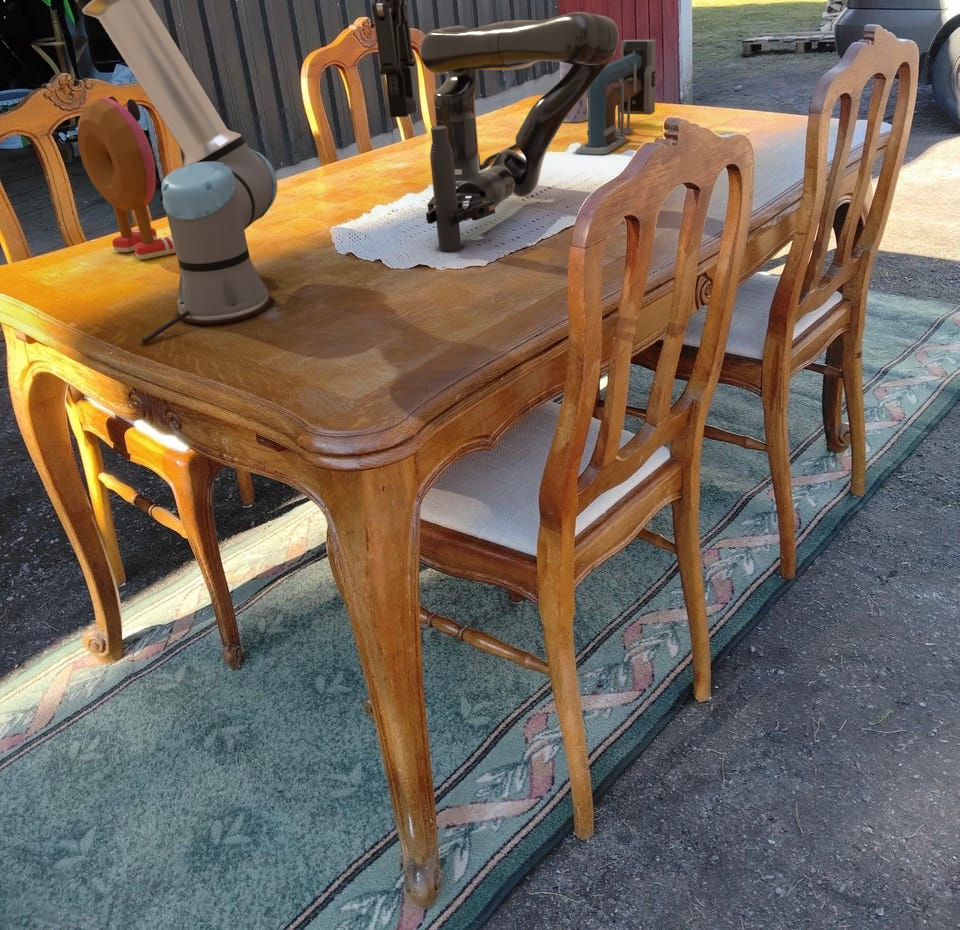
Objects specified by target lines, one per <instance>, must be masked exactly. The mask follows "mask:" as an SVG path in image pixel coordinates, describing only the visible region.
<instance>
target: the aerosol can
mask: <svg viewBox="0 0 960 930" xmlns="http://www.w3.org/2000/svg"><path fill="white" fill-rule="evenodd" d="M571 65H572V64H568V63H564V62H559V81H560V80H561V78H562V77H563V76H564V75H565V74H566V73H567V71H568V70H569V69H570V67H571ZM584 121H588V90H587V91H586V92H585V93H584V94H583V96H582V97H581V98H580V99H579V101H578V102H577V103H576V105H575V106H574V107H573V108H572V110H571V111H570V113H569V114H568V116H567V117H566V119H565V120H564V122H563V123H580V122H584Z"/></svg>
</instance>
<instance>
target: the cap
mask: <svg viewBox="0 0 960 930" xmlns="http://www.w3.org/2000/svg"><path fill="white" fill-rule="evenodd" d="M406 102H407V111H408V115H412V114H415V113H416V112H417V104H416V99H415V97H414V96H413V97H406ZM388 109H389V110H390V107H389V106H388Z"/></svg>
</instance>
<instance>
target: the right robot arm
mask: <svg viewBox="0 0 960 930" xmlns="http://www.w3.org/2000/svg"><path fill="white" fill-rule="evenodd" d="M619 41H620V33H619V28H618V26H617V24H616V23H615V20H613V19H612V18H610V17H609V16H604V15H600V14H596V13H590V12H583V11H573V12H569V13H565V14H562V15H558V16H554V17H551V18H548V19H547V18H546V19H543V20H532V19H521V20H520V19H519V20H518V19H516V20H506V21H505V20H504V21H498V22H494V23H489V24H486V25H485V24H484V25H481V26H478V27H475V28H472V29H471V28H470V29H468V28H467V27H465V26H463V25H454V26H447V27H442V28H437V29H433V30H431V31H429V32H428V33H427V34H425V36H424V37H423V39H422V41H421V43H420V45H419V56H420V60H421V62H422V64H423V65H424V66H425V69H427V70H429V71H430V72H432V73H433V74H436V75H447V77H446V80H445V81H444V83H443V84H442V85H441V86H440V87H439V88H438V89H436V90H435V92H434V93H433V105H434V114H435V126H447V128H448V130H447V131H448V142H450V145H451V148H452V151H453V157H454V168H455V180H456V191H457V203H458V209H457V210H456V211H454V212H453V213H451V214H450V223H451V225H454V226H455V225H457V224H458V223H459V224H460V223H462V222H467V221H469V220H472V221H475V222H476V221H479V220H481V219H484V218H487V217H489V216H491V215H494V214H496V208H497V207H498V206H499V205H500V204H501V203H502V202H504V201H506V200H507V199H508V198H510V196H512V195H514V196H516V197H518V198H524V197H528V196H529V195H531V194H532V193H533V192H534V191H535V189H536V187H537V186H538V182H539V181H540V176H541V173H542V168H543V163H544V160H545V157H546V154H547V151H548V149H549V148H550V146H551V144H552V142H553V141H554V139H555V137H556V135H557V133H558V131H560V128H561V127H562V125H563V123H565V122H564V120H565V119H566V117H567V116H568V114H569V113H570V111H571V110H572V108H573V107H574V106H575V105H576V103H577V102H578V101H579V99H580V98H581V97H582V96H583V94H584V93H585V92H586V91H587V92H588V88H589V87H590V86H591V84H592V83H593V82H594V80H595V79H596V78H597V77H598V76H599V74H600V73H601V72H602V71H603V69H604V68H605V67H606V66H607V65H608V64H610V63H611V60H612V59H613V57H614V56H615V54H616V52H617V49H618V46H619ZM539 62H556V63H557V62H558V63H560V62H564V63H568V64H572V65H571V67H570V69H569V70H568V71H567V73H566V74H565V75H564V76H563V77H562V78H561V80H560V79H559V80H558V81H557V82H556V83H555V84H554V85H553V86H552V87H550V89H549V90H547V91H546V92H545V93H544V94H543V95H542V96H541V97H540V98H538V99H537V101H536V102H535V103H534V105H532V107H531V109H530V110H529V112H528V113H527V115H526V116H525V118H524V120H523V123H522V124H521V126H520V128H519V130H518V131H517V134H516V135H515V144H512V145H511V146H509V147H507V148H505V149H503V150H501V151H498V152H496V153H494V154H492V155H490V156H488V157H486V158H485V160H484V161H483V163H482V164H481V157H480V156H481V155H480V153H479V142H478V140H479V139H478V128H477V115H476V103H475V100H476V99H475V95H476V91H477V70H480V71H481V70H483V71H484V70H485V71H512V70H513V71H514V70H522V69H526V68H529V67H531V66H533V65H534V64H535V63H539ZM517 148H518V149H519V150H520V152H521V153H522V154H523V156H524V157H523V156H521V155H520V154H518V153H517V152H516V151H514V150H515V149H517ZM492 160H493V161H492ZM491 161H492V163H491V164H490V167H488V169H486V170H484V171H482V172H481V171H480V170H482V169H484V168H486V167H487V165H488V164H489V162H491ZM457 185H458V186H457ZM425 217H426V218H425V219H426V222H427V224H430V225H432V224H434V223H435V222H436V212H435V202H434V196H432V197H431V198H430V200H429V201H428V203H427V212H426V213H425ZM436 223H437V222H436Z"/></svg>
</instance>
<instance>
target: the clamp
mask: <svg viewBox="0 0 960 930" xmlns="http://www.w3.org/2000/svg"><path fill="white" fill-rule="evenodd" d="M656 53H657V40H656V39H624V40H621V42H620V58H618V59H617V60H614V61H611V62H609V63H608V64H607V66H606V67H605V68H604V69H603V71H602V72H601V73H600V74H599V76H598V77H597V78H596V79H595V80H594V82H593V83H592V84H591V86H590V87H589V88H588V89H587V116H588V119H587V131H586V136H587V142H585V143H583V144H581V145H579V146H580V148H578V147H577V148H578V149H577V148H576V149H575V151H574V152H575V153H576V154H585V155H608V154H609V153H611V152H612V151H614V150H615V149H617V148H618V147H620V146H621V145H623V144H625V143H626V142H628V141H629V139H628V138H627V135H631V134H632V133H634V129H633V128H632V127H631V115H653V114H654V113H656V112H655V111H656V62H657V61H656V60H657V59H656V57H657V55H656ZM612 84H615V85H613V86H611V87H609V88H608V89H607V87H608V86H610V85H612ZM616 109H617V110H616ZM616 111H617V124H616ZM625 115H626V127H625Z"/></svg>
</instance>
